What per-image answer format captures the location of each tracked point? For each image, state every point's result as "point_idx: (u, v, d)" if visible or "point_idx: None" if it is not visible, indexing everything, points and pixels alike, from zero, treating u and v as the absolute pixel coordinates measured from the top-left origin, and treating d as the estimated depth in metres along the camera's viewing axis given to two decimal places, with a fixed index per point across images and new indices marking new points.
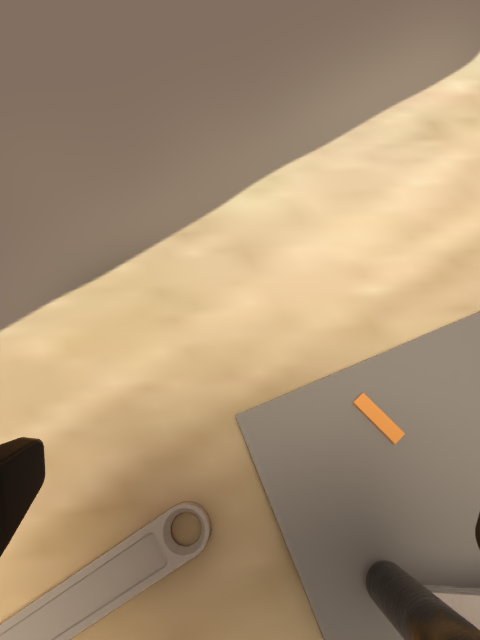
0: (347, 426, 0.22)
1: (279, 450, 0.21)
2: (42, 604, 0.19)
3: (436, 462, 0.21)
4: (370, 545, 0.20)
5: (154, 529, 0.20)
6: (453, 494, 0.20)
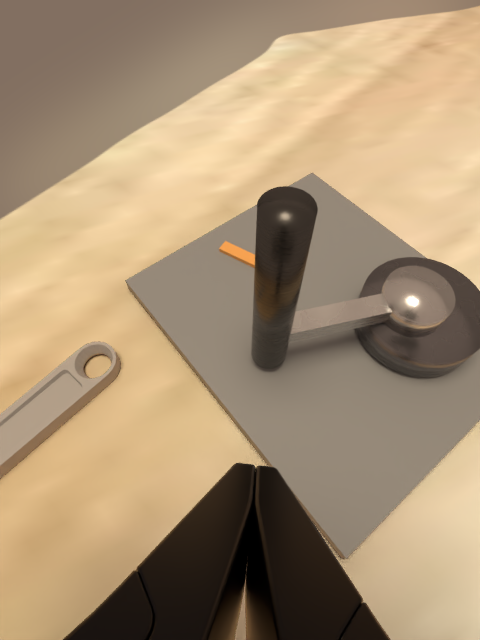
0: (218, 266, 0.26)
1: (167, 294, 0.25)
2: None
3: None
4: None
5: (66, 366, 0.23)
6: (309, 288, 0.25)
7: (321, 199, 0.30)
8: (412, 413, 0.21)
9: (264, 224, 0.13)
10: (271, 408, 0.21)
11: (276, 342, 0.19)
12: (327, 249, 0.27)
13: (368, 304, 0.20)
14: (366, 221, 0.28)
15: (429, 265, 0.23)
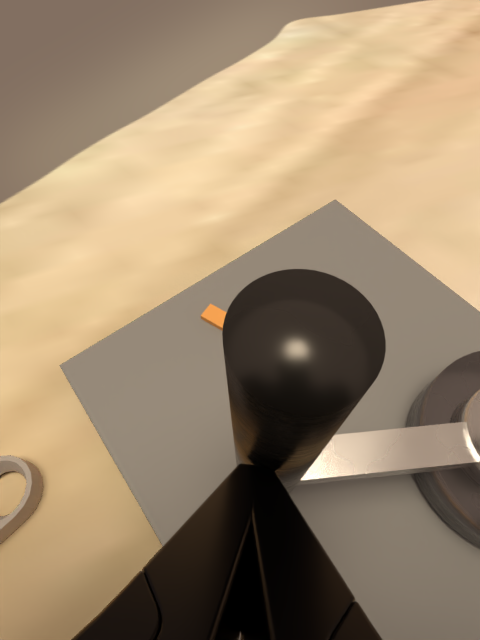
0: (199, 344, 0.18)
1: (119, 390, 0.17)
2: None
3: None
4: None
5: None
6: None
7: (349, 240, 0.21)
8: None
9: (234, 376, 0.05)
10: None
11: None
12: None
13: (440, 440, 0.12)
14: (415, 273, 0.20)
15: None
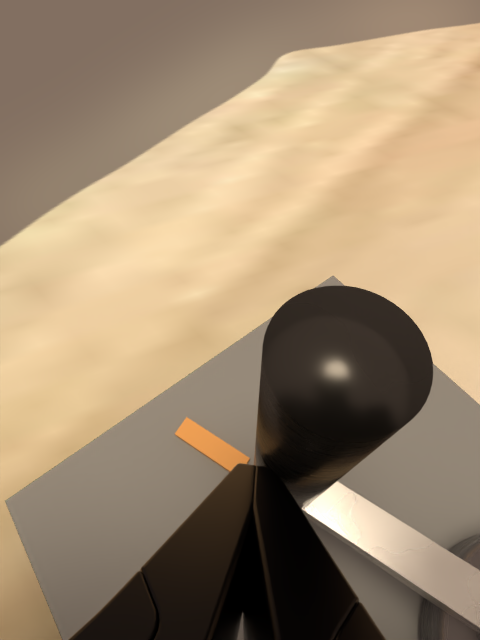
0: (172, 470, 0.15)
1: (74, 536, 0.14)
2: None
3: None
4: None
5: None
6: None
7: None
8: None
9: (262, 350, 0.05)
10: None
11: None
12: None
13: (469, 586, 0.10)
14: None
15: None
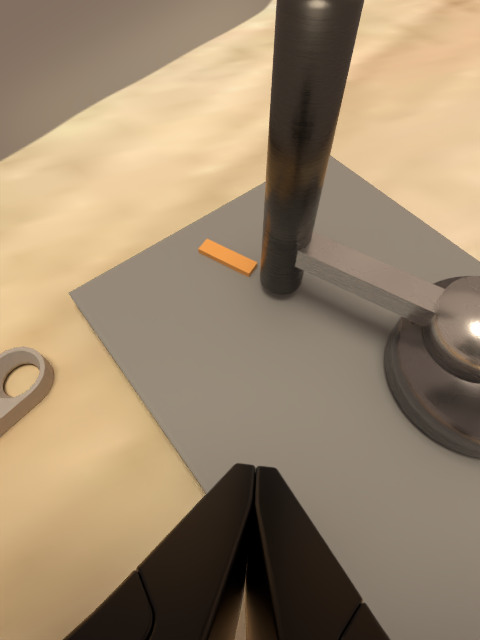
0: (197, 273, 0.19)
1: (124, 312, 0.18)
2: None
3: None
4: (242, 375, 0.17)
5: None
6: (320, 305, 0.18)
7: (335, 184, 0.22)
8: (478, 496, 0.14)
9: None
10: None
11: (274, 245, 0.15)
12: None
13: (414, 286, 0.14)
14: (395, 212, 0.21)
15: None
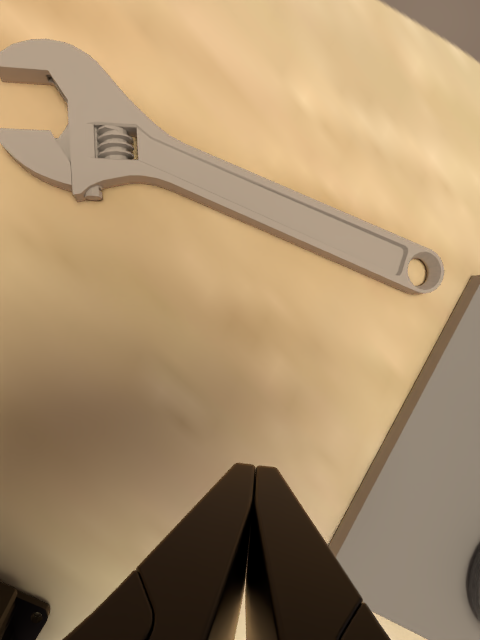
0: None
1: None
2: (312, 205, 0.21)
3: None
4: (468, 432, 0.23)
5: (410, 248, 0.22)
6: None
7: None
8: (447, 599, 0.23)
9: None
10: (411, 477, 0.22)
11: None
12: None
13: None
14: None
15: None
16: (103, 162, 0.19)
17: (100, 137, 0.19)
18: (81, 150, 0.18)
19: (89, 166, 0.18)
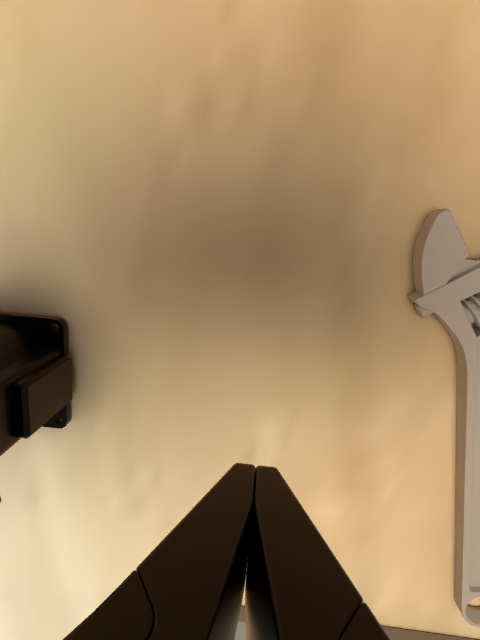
0: None
1: None
2: None
3: None
4: None
5: None
6: None
7: None
8: None
9: None
10: None
11: None
12: None
13: None
14: None
15: None
16: (459, 310, 0.18)
17: None
18: (462, 287, 0.18)
19: (449, 301, 0.18)
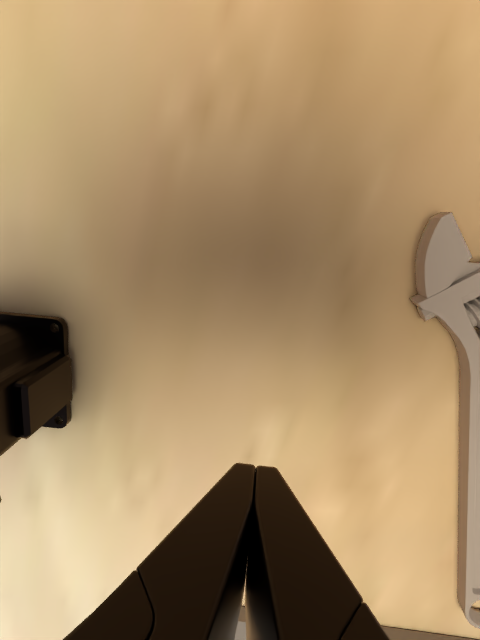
0: None
1: None
2: None
3: None
4: None
5: None
6: None
7: None
8: None
9: None
10: None
11: None
12: None
13: None
14: None
15: None
16: (462, 313, 0.18)
17: None
18: (465, 290, 0.18)
19: (452, 304, 0.18)
